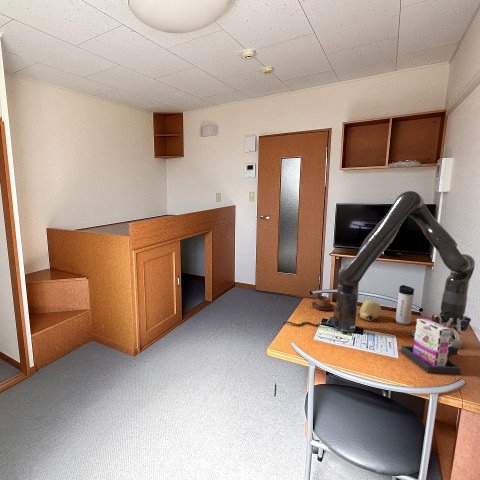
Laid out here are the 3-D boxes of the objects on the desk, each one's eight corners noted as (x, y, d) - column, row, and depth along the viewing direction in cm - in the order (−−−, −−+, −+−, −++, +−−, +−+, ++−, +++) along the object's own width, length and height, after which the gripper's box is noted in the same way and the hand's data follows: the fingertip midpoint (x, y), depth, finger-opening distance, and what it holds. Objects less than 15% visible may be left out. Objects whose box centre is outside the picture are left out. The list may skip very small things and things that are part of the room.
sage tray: (429, 347, 144) (429, 341, 143) (411, 335, 155) (412, 330, 155) (461, 348, 142) (462, 343, 142) (441, 336, 154) (442, 331, 153)
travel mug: (404, 320, 172) (408, 285, 169) (412, 325, 166) (417, 289, 163) (392, 319, 173) (396, 284, 170) (400, 325, 167) (404, 288, 163)
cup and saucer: (313, 302, 199) (314, 293, 198) (335, 306, 192) (336, 297, 191) (309, 309, 189) (310, 299, 188) (332, 313, 182) (333, 303, 181)
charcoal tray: (427, 372, 124) (428, 366, 124) (400, 351, 140) (401, 345, 140) (460, 374, 123) (461, 368, 123) (428, 352, 139) (429, 346, 139)
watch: (443, 347, 140) (447, 324, 139) (461, 357, 132) (466, 332, 131) (431, 347, 140) (435, 324, 138) (448, 357, 132) (453, 332, 130)
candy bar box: (447, 367, 126) (452, 329, 124) (435, 368, 126) (441, 329, 123) (421, 353, 137) (426, 317, 135) (411, 353, 137) (415, 318, 134)
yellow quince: (359, 321, 180) (351, 312, 175) (368, 304, 182) (361, 294, 177) (377, 327, 171) (369, 318, 166) (387, 309, 173) (379, 299, 169)
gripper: (465, 298, 135) (458, 335, 138) (429, 297, 137) (423, 334, 140) (480, 305, 128) (473, 344, 131) (442, 303, 129) (435, 342, 132)
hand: (447, 338), depth 135 cm, fingers closed on watch, 4 cm apart
